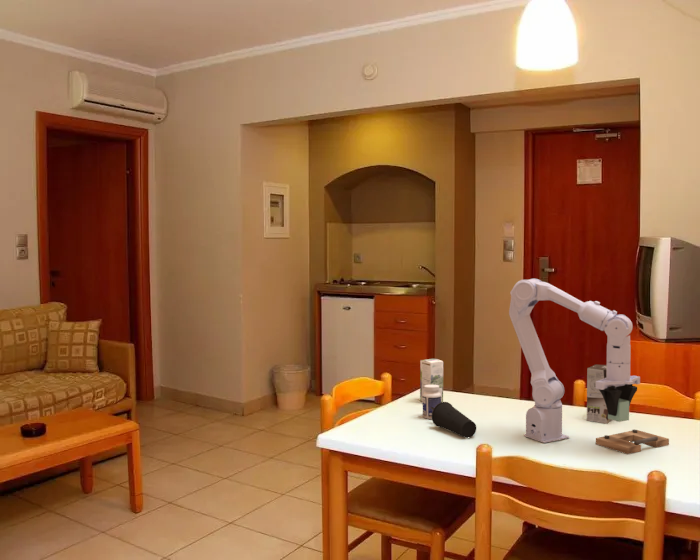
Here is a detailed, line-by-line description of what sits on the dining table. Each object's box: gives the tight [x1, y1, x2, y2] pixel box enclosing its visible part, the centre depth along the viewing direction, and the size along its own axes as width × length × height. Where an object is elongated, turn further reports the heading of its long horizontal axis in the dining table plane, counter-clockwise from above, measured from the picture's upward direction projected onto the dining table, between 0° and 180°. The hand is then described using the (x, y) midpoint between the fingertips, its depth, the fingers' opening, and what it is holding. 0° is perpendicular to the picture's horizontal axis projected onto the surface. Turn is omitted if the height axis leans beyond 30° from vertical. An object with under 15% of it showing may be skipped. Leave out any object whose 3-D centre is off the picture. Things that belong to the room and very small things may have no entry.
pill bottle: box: [422, 385, 441, 420], centre depth 201 cm, size 6×6×10 cm
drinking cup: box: [431, 401, 477, 439], centre depth 187 cm, size 8×8×20 cm
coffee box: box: [586, 363, 612, 424], centre depth 197 cm, size 9×6×16 cm
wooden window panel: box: [595, 429, 670, 455], centre depth 171 cm, size 16×10×3 cm, turn 118°
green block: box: [608, 399, 630, 423], centre depth 168 cm, size 4×4×5 cm
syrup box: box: [419, 358, 444, 403], centre depth 222 cm, size 6×6×14 cm
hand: (617, 413), depth 168 cm, fingers closed on green block, 4 cm apart
